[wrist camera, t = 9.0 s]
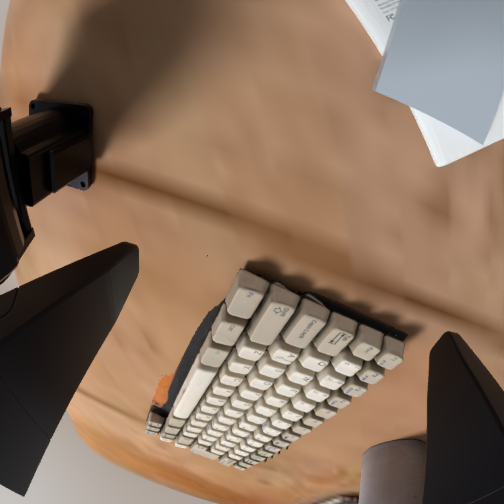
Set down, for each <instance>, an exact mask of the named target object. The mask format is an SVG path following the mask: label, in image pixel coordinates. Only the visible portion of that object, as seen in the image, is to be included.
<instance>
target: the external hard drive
mask: <svg viewBox="0 0 504 504" xmlns="http://www.w3.org/2000/svg"><path fill="white" fill-rule="evenodd" d="M345 1H346V2H347V4H348V5H349V6H350V8H351V9H352V11H353V12H354V13H355V15H356V16H357V18H358V19H359V21H360V22H361V24H362V25H363V27H364V28H365V30H366V31H367V33H368V34H369V36H370V37H371V39H372V41H373V42H374V44H375V45H376V47H377V49H378V50H379V52H380V54H381V55H382V56H383V53H384V50H385V47H386V44H387V41H388V38H389V34H390V31H391V28H392V25H393V21H394V18H395V15H396V11H397V8H398V4H399V1H400V0H345ZM409 107H410V106H409ZM410 109H411V111H412V113H413V115H414V117H415V119H416V121H417V123H418V126H419V128H420V130H421V132H422V134H423V137H424V139H425V141H426V144H427V146H428V148H429V151H430V153H431V155H432V158H433V160H434V163H435V164H436V166H437V167H441V166H445V165H447V164H449V163H452V162H454V161H456V160H458V159H460V158H462V157H465V156H467V155H469V154H471V153H473V152H475V151H477V150H479V149H482V148H484V147H486V146H488V145H490V144H492V143H495V142H497V141H499V140H501V139H504V91H503V94H502V97H501V100H500V103H499V106H498V109H497V111H496V114H495V117H494V119H493V122H492V124H491V127H490V130H489V132H488V135H487V137H486V139H485V142H484V144H483V145H482V144H480V143H478V142H477V141H475V140H473V139H472V138H470V137H468V136H466V135H465V134H463V133H461V132H459V131H457V130H456V129H454V128H452V127H450V126H448V125H446V124H445V123H443V122H441V121H439V120H437V119H435V118H433V117H431V116H429V115H427V114H425V113H423V112H421V111H419V110H417V109H414V108H412V107H410Z"/></svg>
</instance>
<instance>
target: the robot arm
mask: <svg viewBox="0 0 504 504" xmlns="http://www.w3.org/2000/svg"><path fill="white" fill-rule="evenodd" d="M85 110H86V112H87V114H85ZM11 116H12V112H11V107H9V108H4V109H1V107H0V285H1V284H2V283H3V282H4V281H5V280H6V279H7V278H8V277H9V276H10V274H11V273H12V272H13V271H14V269H15V268H16V267H17V265H18V263H19V260H20V258H21V257H22V255H23V253H24V252H25V250H26V249H27V247H28V246H29V244H30V243H31V241H32V240H33V238H34V237H35V233H34V229H33V228H32V227H31V223H30V219H29V216H28V212H27V208H26V207H27V206H30V207H33V206H34V205H36V204H37V203H38V202H40V201H41V200H43V199H44V198H46V197H47V196H48V195H50V194H51V193H56V192H57V191H59V190H60V189H62V188H63V187H65V186H66V185H67V186H70V187H73V188H77V189H80V190H87V189H88V188H90V186H91V144H92V119H93V109H92V107H91V106H90V105H88V104H80V103H72V102H63V101H53V100H42V99H35V100H32V101H31V102H30V104H29V116H27V117H24V118H22V119H19V120H17V121H14V122H12V123H11ZM84 183H85V184H84ZM138 273H139V248H138V246H137V245H135V244H132V243H129V242H121V243H119V244H116V245H114V246H111V247H109V248H107V249H104V250H102V251H99V252H97V253H94V254H92V255H90V256H87V257H85V258H83V259H80V260H78V261H76V262H73V263H71V264H69V265H66V266H64V267H62V268H59V269H57V270H55V271H53V272H50V273H48V274H46V275H44V276H41V277H39V278H37V279H35V280H32V281H30V282H28V283H26V284H24V285H21V286H20V287H19V288H15V289H13V290H11V291H9V292H6V293H4V294H2V295H0V484H1V485H2V486H4V487H6V488H8V489H10V490H12V491H14V492H15V493H17V494H19V495H22V496H25V494H26V492H27V490H28V488H29V485H30V483H31V481H32V479H33V476H34V474H35V472H36V470H37V468H38V465H39V463H40V461H41V459H42V457H43V455H44V453H45V450H46V449H47V447H48V445H49V442H50V439H51V438H52V436H53V434H54V432H55V430H56V428H57V426H58V424H59V422H60V420H61V418H62V416H63V414H64V412H65V411H66V409H67V407H68V405H69V403H70V401H71V399H72V397H73V395H74V394H75V392H76V390H77V388H78V386H79V384H80V383H81V381H82V379H83V377H84V375H85V374H86V372H87V370H88V368H89V367H90V365H91V363H92V361H93V360H94V358H95V356H96V354H97V353H98V351H99V349H100V347H101V346H102V344H103V342H104V341H105V339H106V337H107V336H108V334H109V332H110V331H111V329H112V327H113V326H114V324H115V322H116V320H117V318H118V316H119V314H120V312H121V310H122V308H123V306H124V303H125V301H126V299H127V297H128V295H129V293H130V291H131V289H132V287H133V285H134V283H135V280H136V278H137V276H138ZM422 504H504V391H503V390H502V388H501V387H500V386H499V384H498V383H497V382H496V380H495V379H494V378H493V376H492V375H491V374H490V372H489V371H488V370H487V368H486V367H485V366H484V365H483V363H482V362H481V361H480V360H479V358H478V357H477V356H476V355H475V353H474V352H473V351H472V350H471V348H470V347H469V346H468V345H467V343H466V342H465V341H464V340H463V339H462V337H461V336H460V335H459V334H458V333H455V332H450V331H447V332H445V333H444V334H443V335H442V336H441V338H440V339H439V340H438V341H437V343H436V344H435V345H434V346H433V348H432V349H431V351H430V355H429V376H428V392H427V445H426V465H425V478H424V489H423V499H422Z"/></svg>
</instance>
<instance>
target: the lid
mask: <svg viewBox="0 0 504 504" xmlns="http://www.w3.org/2000/svg"><path fill="white" fill-rule="evenodd" d="M372 90H374V91H376V92H378V93H380V94H383V95H385V96H388V97H390V98H392V99H395V100H397V101H399V102H401V103H404V104H406V105H408V106H410V107H412V108H414V109H417V110H419V111H421V112H423V113H425V114H427V115H429V116H431V117H433V118H435V119H437V120H439V121H441V122H443V123H445V124H446V125H448V126H450V127H452V128H454V129H456V130H457V131H459V132H461V133H463V134H465V135H466V136H468V137H470V138H472V139H473V140H475V141H477V142H478V143H480V144H482V145H483V144H484V142H485V139H486V137H487V135H488V132H489V130H490V127H491V124H492V122H493V119H494V117H495V114H496V111H497V109H498V106H499V103H500V100H501V97H502V94H503V91H504V0H400V1H399V4H398V8H397V11H396V15H395V18H394V21H393V25H392V28H391V31H390V34H389V38H388V41H387V44H386V47H385V50H384V53H383V56H382V59H381V63H380V66H379V69H378V72H377V75H376V78H375V81H374V84H373V86H372Z"/></svg>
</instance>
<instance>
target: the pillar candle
mask: <svg viewBox="0 0 504 504" xmlns="http://www.w3.org/2000/svg"><path fill="white" fill-rule="evenodd" d="M426 445H427V444H426V443H424V442H421V441H419V440H396V441H389V442H385V443H382V444H378V445H376V446H373V447H371V448H369V449H368V450H367V451H366V452H365V453H364V455H363V458H362V471H361V483H360V496H359V504H422V499H423V489H424V478H425V465H426Z"/></svg>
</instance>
